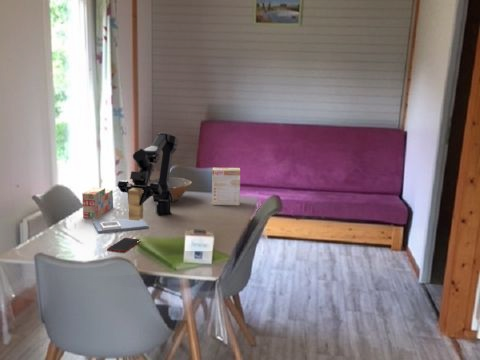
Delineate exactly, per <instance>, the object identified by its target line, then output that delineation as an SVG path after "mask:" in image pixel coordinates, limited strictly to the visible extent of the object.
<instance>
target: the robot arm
mask: <svg viewBox="0 0 480 360" xmlns="http://www.w3.org/2000/svg"><path fill="white" fill-rule="evenodd" d="M178 145H179V139H178V138H177V137H176V136H175V135H173V134H172V135H171V134H170V133H167V132H159V133H157V137H156V138H155V139H154V141H153V142H152V144H151V145H150V146H148V147H146V148H139V150H137V151H135V152H134V153H133V155H132V159H133V160H134V162H135V164H136V166H137V167H138V171H133V170H132V171H130V175H129V176H130V177H129V179H130V180H132V183H131V182H130V183H129V181H128V180H119V181H118V182H117V185H116V186H117V187H118V189H119V191H120V192H122V193H127V196H128V197H127V200H128V202H127V203H128V205H129V194H128V190H130V189H131V188H142V189H143V194H142V197H141V200H140V203H139V205H140V206H141V205H142V204H143V205H144V203H146V202H147V200H148V199H150V197H152V198H153V202H156V203H155V213H156V214H157V215H158V216H165V215H172V212H171V203H173V202H174V201H173V195H172V193H171V187H170V185H169V183H168V182H169V177H170V174H171V166H172V160H173V159H172V158H173V154H174V153H175V152H176V151H177V148H178ZM161 151H162V156H160V153H161ZM160 158H161V162H160V170H159V177H158V178H159V181H158V183H151V184H150V186H148V183H149V182H150V181H151V180H152V179H151V176H152V174H153V172H154V171H155V168H154V165H153V164H157V163H158V162H159V161H160Z"/></svg>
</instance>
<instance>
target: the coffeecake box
mask: <svg viewBox="0 0 480 360" xmlns="http://www.w3.org/2000/svg"><path fill="white" fill-rule="evenodd" d="M211 175H212V177H211V178H212V180H211V181H212V182H211V183H212V184H211V205H212V206H240V202H241V201H240V197H241V195H240V194H241V190H240V189H241V168H240V167H212V174H211Z"/></svg>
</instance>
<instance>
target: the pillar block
mask: <svg viewBox="0 0 480 360" xmlns="http://www.w3.org/2000/svg"><path fill="white" fill-rule="evenodd" d="M128 194H129V204H128V218H129V220H137V221H139V220H141V219H143V218H144V203H143V204H142V205H141V206H140V205H139V203H140V200H141V197H142V194H143V189H142V188H131V189H130V190H128V193H127V195H128Z"/></svg>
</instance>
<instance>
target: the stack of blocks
mask: <svg viewBox="0 0 480 360" xmlns="http://www.w3.org/2000/svg"><path fill="white" fill-rule="evenodd" d="M81 194H82V214H83V216H82V217H83V218H84V219H94V218H95V219H97V218H99V217H100V216H102V215H104V214H105V213H106V212H108V211H109V210H111V209H112V208H113V207H114V195H113V189H106V187H105V188H104V187H91V188H90V189H88V190H86V191H85V192H82V193H81Z"/></svg>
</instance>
